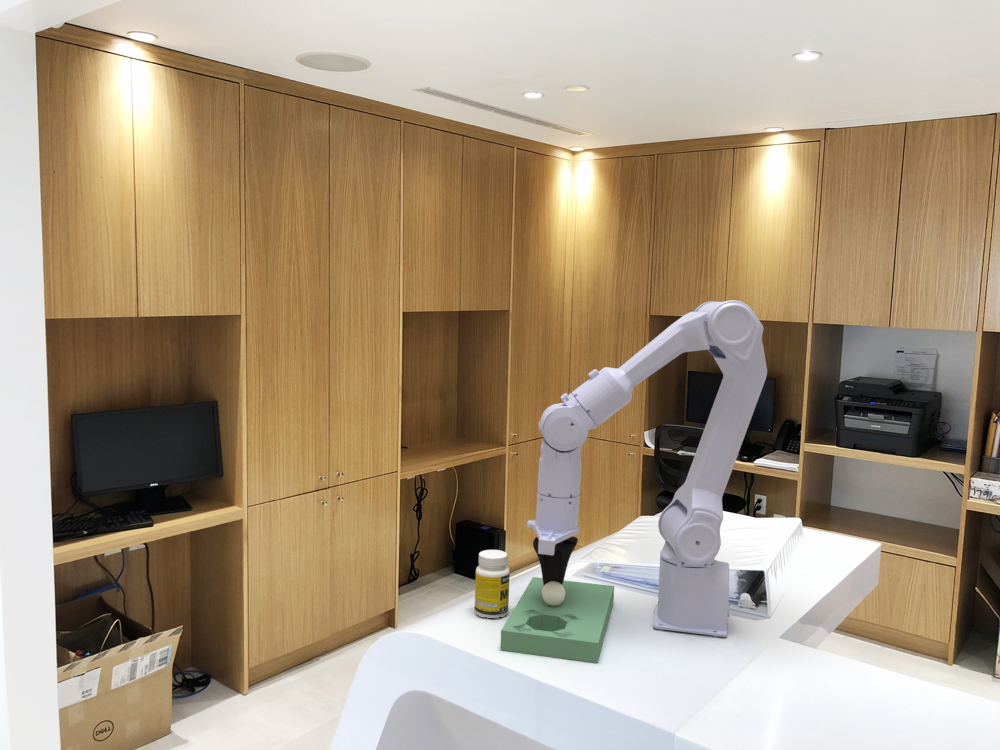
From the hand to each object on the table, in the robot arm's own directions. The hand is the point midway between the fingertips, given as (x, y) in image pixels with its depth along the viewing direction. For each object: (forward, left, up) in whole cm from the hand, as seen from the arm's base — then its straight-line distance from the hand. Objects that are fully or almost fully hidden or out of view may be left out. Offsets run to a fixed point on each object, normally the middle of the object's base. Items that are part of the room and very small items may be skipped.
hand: (552, 590), depth 105 cm
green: (-2, +2, -4) cm, 5 cm away
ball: (0, +1, 0) cm, 1 cm away
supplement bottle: (+8, +1, -4) cm, 9 cm away
